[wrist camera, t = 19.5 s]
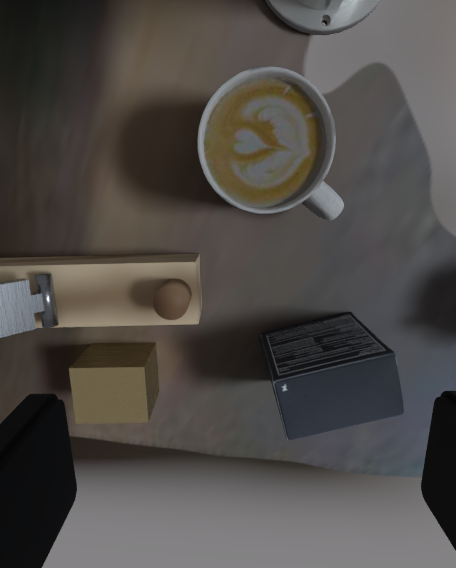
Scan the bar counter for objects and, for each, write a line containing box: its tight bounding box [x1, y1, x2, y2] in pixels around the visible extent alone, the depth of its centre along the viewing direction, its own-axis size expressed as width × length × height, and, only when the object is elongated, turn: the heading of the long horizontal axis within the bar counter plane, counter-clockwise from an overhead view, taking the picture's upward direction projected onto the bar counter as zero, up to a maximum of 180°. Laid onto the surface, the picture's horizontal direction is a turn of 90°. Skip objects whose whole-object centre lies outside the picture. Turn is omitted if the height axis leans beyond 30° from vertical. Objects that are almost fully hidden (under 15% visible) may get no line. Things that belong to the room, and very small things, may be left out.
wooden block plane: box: [0, 253, 202, 328], centre depth 34 cm, size 6×22×8 cm, turn 91°
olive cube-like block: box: [69, 343, 159, 424], centre depth 38 cm, size 7×6×6 cm
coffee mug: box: [197, 66, 344, 220], centre depth 31 cm, size 13×10×10 cm
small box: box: [259, 312, 404, 440], centre depth 35 cm, size 11×6×10 cm, turn 104°
